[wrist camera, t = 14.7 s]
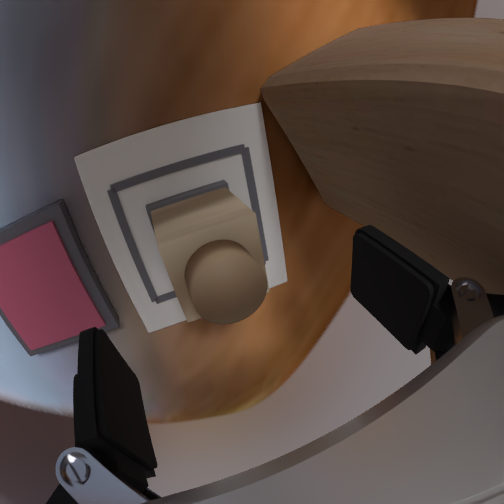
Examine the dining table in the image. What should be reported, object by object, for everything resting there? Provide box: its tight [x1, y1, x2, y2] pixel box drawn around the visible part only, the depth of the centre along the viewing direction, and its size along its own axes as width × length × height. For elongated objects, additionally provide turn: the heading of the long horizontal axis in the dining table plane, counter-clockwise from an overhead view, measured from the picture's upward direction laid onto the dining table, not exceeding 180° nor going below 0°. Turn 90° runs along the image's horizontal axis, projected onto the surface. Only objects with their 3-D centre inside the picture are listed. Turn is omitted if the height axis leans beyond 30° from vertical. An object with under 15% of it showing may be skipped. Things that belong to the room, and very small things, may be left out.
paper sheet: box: [74, 103, 287, 333], centre depth 18 cm, size 13×11×1 cm
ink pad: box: [0, 199, 119, 356], centre depth 15 cm, size 9×8×1 cm
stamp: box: [146, 180, 270, 324], centre depth 15 cm, size 5×5×7 cm
